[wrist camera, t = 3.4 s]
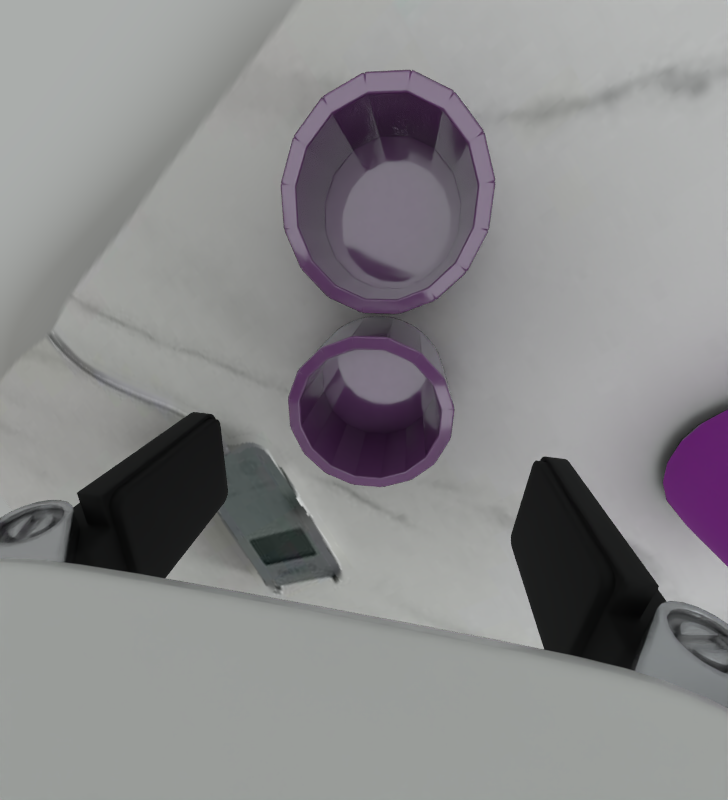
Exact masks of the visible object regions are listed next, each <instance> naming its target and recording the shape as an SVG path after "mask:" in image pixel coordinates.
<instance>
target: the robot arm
mask: <svg viewBox="0 0 728 800" xmlns="http://www.w3.org/2000/svg"><path fill="white" fill-rule="evenodd" d="M77 494H78V497H79V500H80V503H79V504H77V505H76V506H75V507H73V506H72V505H71V504H70V503H68V502H66V501H62V500H47V501H41V502H36V503H33V504H29V505H26V506H23V507H21V508H18V509H16V510H14V511H11V512H9V513H8V514H6V515H4V516H3V517H1V518H0V800H728V624H727V623H726V622H724V621H722V620H721V619H719V618H718V617H716V616H715V615H713V614H711V613H709V612H707V611H705V610H703V609H701V608H699V607H696V606H693V605H690V604H687V603H684V602H676V601H668V602H667V601H666V600H665V599H664V597H663V596H662V594H661V593H660V592H659V590H658V587H659V586H658V584H657V583H656V582H655V580H654V579H653V577H652V576H651V575H650V573H649V572H648V571H647V569H646V568H645V566H644V565H643V564H642V562H641V561H640V559H639V558H638V557H637V555H636V554H635V553H634V551H633V550H632V548H631V547H630V546H629V544H628V543H627V541H626V540H625V539H624V537H623V536H622V535H621V533H620V532H619V530H618V529H617V528H616V526H615V525H614V524H613V522H612V521H611V519H610V518H609V517H608V515H607V514H606V512H605V511H604V510H603V508H602V507H601V506H600V504H599V503H598V501H597V500H596V499H595V497H594V496H593V494H592V493H591V492H590V490H589V489H588V488H587V486H586V485H585V483H584V482H583V481H582V479H581V478H580V476H579V475H578V474H577V472H576V471H575V470H574V468H573V467H572V465H571V464H570V463H569V461H568V460H566V459H560V458H552V457H542V459H541V460H540V461H535V462H534V463H533V466H532V469H531V472H530V475H529V479H528V482H527V485H526V488H525V492H524V495H523V498H522V501H521V505H520V508H519V511H518V514H517V518H516V521H515V524H514V527H513V531H512V534H511V545H512V549H513V552H514V555H515V559H516V562H517V565H518V568H519V571H520V574H521V577H522V581H523V584H524V587H525V590H526V593H527V596H528V599H529V603H530V606H531V609H532V612H533V615H534V618H535V621H536V625H537V628H538V631H539V634H540V637H541V640H542V643H543V647H544V649H539V648H534V647H529V646H524V645H519V644H515V643H510V642H505V641H500V640H495V639H490V638H485V637H479V636H474V635H469V634H464V633H458V632H453V631H448V630H443V629H437V628H432V627H427V626H422V625H416V624H411V623H406V622H401V621H395V620H390V619H385V618H380V617H374V616H369V615H363V614H358V613H353V612H347V611H342V610H336V609H331V608H326V607H320V606H315V605H310V604H304V603H299V602H293V601H288V600H282V599H277V598H271V597H266V596H260V595H255V594H250V593H244V592H238V591H233V590H227V589H222V588H216V587H210V586H205V585H199V584H194V583H188V582H182V581H177V580H171V579H165V578H166V577H167V575H168V574H169V573H170V571H171V570H172V569H173V568H174V566H175V565H176V564H177V562H178V561H179V560H180V559H181V557H182V556H183V555H184V553H185V552H186V551H187V550H188V548H189V547H190V546H191V545H192V543H193V542H194V541H195V539H196V538H197V537H198V536H199V534H200V533H201V532H202V530H203V529H204V528H205V527H206V525H207V524H208V523H209V521H210V520H211V519H212V518H213V516H214V515H215V514H216V513H217V511H218V510H219V509H220V507H221V506H222V505H223V504H224V502H225V500H226V498H227V495H228V487H227V478H226V470H225V461H224V452H223V444H222V435H221V427H220V422H219V421H218V420H216V419H215V417H214V415H212V414H206V413H198V412H193V413H190V414H189V415H188V416H186V417H185V418H183V419H182V420H180V421H179V422H178V423H176V424H175V425H173V426H172V427H170V428H169V429H168V430H166V431H165V432H163V433H162V434H160V435H159V436H158V437H156V438H155V439H153V440H152V441H150V442H149V443H148V444H146V445H145V446H143V447H142V448H140V449H139V450H138V451H136V452H135V453H133V454H132V455H130V456H129V457H128V458H126V459H125V460H123V461H122V462H120V463H119V464H118V465H116V466H115V467H113V468H112V469H110V470H109V471H108V472H106V473H105V474H103V475H102V476H100V477H99V478H98V479H96V480H95V481H93V482H92V483H90V484H89V485H88V486H86V487H85V488H83V489H82V490H80V491H79V492H78V493H77Z"/></svg>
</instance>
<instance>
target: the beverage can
mask: <svg viewBox="0 0 728 800" xmlns="http://www.w3.org/2000/svg"><path fill="white" fill-rule="evenodd" d="M663 486H664V490H665V495H666V500H667V501H668V503H669V504H670V505H671V506H672V508H673V509H674V510H675V511H676V513H677V514H678V515H679V517H680V518H681V519H682V520H683V522H684V523H685V524H686V525H687V526H688V527H689V528H690V529H691V530H692V531H693V532H694V533H695V534H696V535H697V536H698V537H699V538H700V539H701V540H702V541H703V542H704V543H705V544H706V545H707V546H708V547H709V548H710V549H711V550H712V551H713V552H714V553H715V554H716V555H717V556H718V557H719V558H720V559H721V560H722V561H723V562H724V563H725V564H726V565H727V566H728V410H726V411H724V412H722V413H720V414H718V415H716V416H714V417H713V418H711V419H709V420H707V421H705V422H703V423H701V424H700V425H698V426H697V427H696V428H695V429H694V430H693V431H692V432H690V433H689V434H688V435H687V436H686V437H685V438H684V439H683V440H682V441H681V442H680V444H679V445H678V447H677V449H676V450H675V452H674V453H673V455H672V456H671V458H670V459H669V461H668V462H667V466H666V471H665V475H664V479H663Z"/></svg>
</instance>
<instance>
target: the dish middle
mask: <svg viewBox="0 0 728 800" xmlns="http://www.w3.org/2000/svg"><path fill="white" fill-rule="evenodd" d="M288 405H289V417H290V426H291V429H292V431H293V433H294V435H295V437H296V439H297V441H298V443H299V445H300V447H301V449H302V451H303V452H304V454H305V455H306V456H307V457H309V458H310V459H311V460H312V461H313V462H314V463H315V464H316V465H317V466H318V467H320V468H321V469H322V470H323V471H324V472H326V473H327V474H329V475H332V476H334V477H336V478H339V479H341V480H343V481H345V482H348V483H350V484H354V485H364V486H375V487H385V486H389V485H393V484H397V483H401V482H405V481H409V480H412V479H413V478H415V477H416V476H418V475H419V474H421V473H422V472H424V471H425V470H426V469H428V468H429V467H431V466H432V465H434V464H435V463H436V461H437V460H438V458H439V456H440V455H441V453H442V452H443V450H444V449H445V447H446V445H447V444H448V442H449V441H450V438H451V434H452V426H453V418H454V404H453V401H452V397H451V393H450V389H449V386H448V382H447V378H446V375H445V372H444V368H443V365H442V362H441V359H440V356H439V353H438V351H437V349H436V348H435V347H434V345H433V344H432V342H431V341H430V340H429V339H428V338H427V337H426V336H425V335H424V334H423V333H422V332H421V331H420V330H418V329H417V328H416V327H414V326H412V325H411V324H409V323H407V322H404V321H402V320H399V319H396V318H391V317H384V316H371V317H365V318H361V319H358V320H355V321H352V322H350V323H348V324H346V325H345V326H342V327H341V328H339V329H338V330H337V331H336V332H335V333H334V334H333V335H332V336H331V337H330V338H329V339H328V340H327V341H326V342H325V343H324V344H323V345H322V346H321V347H320V348H319V349H318V350H317V351H316V352H315V353H314V354H313V355H312V356H311V357H310V358H309V359H308V360H307V361H306V362H305V363H304V364H303V365H302V367H301V368H300V369H299V370H298V371H297V374H296V377H295V380H294V383H293V385H292V388H291V391H290V394H289V396H288Z"/></svg>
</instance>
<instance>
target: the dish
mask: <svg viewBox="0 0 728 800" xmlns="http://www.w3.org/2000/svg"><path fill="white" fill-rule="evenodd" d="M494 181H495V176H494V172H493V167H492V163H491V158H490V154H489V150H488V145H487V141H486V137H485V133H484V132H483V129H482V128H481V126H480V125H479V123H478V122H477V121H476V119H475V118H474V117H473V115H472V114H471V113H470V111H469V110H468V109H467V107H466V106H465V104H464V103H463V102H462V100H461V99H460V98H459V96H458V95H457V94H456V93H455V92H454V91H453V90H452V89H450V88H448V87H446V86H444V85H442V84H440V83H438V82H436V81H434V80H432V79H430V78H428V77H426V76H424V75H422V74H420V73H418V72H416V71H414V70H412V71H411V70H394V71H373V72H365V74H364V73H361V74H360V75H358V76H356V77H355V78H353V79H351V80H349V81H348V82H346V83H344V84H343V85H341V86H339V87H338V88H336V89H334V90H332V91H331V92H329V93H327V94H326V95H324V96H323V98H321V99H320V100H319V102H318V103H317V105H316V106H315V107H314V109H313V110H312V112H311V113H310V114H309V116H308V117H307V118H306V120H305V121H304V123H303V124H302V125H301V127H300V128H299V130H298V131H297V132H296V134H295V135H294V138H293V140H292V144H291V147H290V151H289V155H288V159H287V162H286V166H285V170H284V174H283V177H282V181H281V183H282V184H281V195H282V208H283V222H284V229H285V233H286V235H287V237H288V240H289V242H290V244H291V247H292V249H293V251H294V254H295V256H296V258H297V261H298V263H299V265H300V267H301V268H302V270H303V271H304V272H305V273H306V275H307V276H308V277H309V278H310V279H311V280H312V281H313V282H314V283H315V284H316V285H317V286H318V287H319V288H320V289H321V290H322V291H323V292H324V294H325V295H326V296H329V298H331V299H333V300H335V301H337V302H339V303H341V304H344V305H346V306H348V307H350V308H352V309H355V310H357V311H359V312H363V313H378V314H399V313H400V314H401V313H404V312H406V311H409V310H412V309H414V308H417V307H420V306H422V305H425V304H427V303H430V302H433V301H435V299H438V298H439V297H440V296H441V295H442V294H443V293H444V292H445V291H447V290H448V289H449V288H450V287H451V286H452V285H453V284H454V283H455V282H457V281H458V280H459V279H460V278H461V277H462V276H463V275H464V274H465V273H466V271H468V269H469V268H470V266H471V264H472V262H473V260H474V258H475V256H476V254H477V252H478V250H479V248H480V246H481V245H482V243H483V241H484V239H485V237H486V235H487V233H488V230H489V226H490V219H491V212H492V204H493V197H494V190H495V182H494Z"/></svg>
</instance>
